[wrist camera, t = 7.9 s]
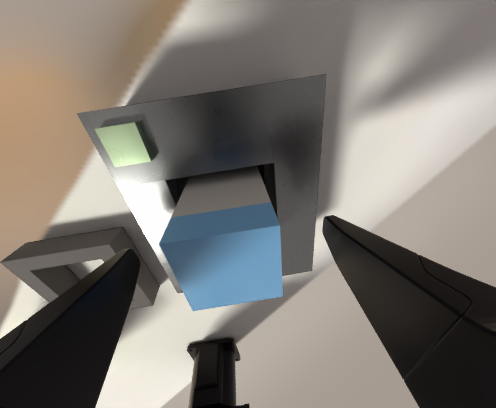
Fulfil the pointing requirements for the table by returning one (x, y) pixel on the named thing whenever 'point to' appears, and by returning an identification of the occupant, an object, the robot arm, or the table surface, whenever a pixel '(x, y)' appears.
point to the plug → (225, 240)
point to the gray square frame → (74, 251)
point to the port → (219, 154)
